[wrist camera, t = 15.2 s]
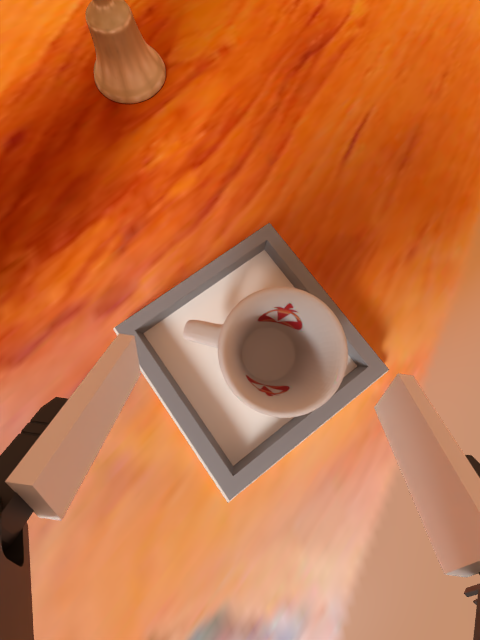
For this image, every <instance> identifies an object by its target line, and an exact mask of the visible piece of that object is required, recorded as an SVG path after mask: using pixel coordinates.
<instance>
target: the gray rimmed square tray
mask: <svg viewBox="0 0 480 640" xmlns="http://www.w3.org/2000/svg"><path fill="white" fill-rule="evenodd" d="M270 287H291V288H296V289H300V290H303V291H306V292H308V293H310V294H312V295H314V296H315V297H317V298H319V299H320V300H321V301H323V302H324V303H325V304H326V305H327V306H328V307H329V308H330V309H331V310H332V311H333V313H334V314H335V315H336V317H337V318H338V320H339V322H340V324H341V326H342V328H343V330H344V333H345V336H346V341H347V347H348V361H347V367H346V371H345V375H344V377H343V380H342V382H341V384H340V386H339V388H338V389H337V391H336V392H335V394H334V395H333V396H332V397H331V398H330V399H329V400H328V401H327V402H326V403H325V404H323V405H322V406H321V407H319V408H318V409H316V410H314V411H312V412H310V413H308V414H305V415H301V416H297V417H290V418H280V417H273V416H268V415H265V414H262V413H259V412H257V411H255V410H253V409H251V408H250V407H248V406H247V405H245V404H244V403H243V402H242V401H240V400H239V399H238V398H237V397H236V396H235V395H234V393H233V392H232V391H231V390H230V388H229V387H228V385H227V383H226V381H225V380H224V377H223V375H222V372H221V369H220V365H219V360H218V348H215V347H211V346H207V345H203V344H199V343H195V342H192V341H189V340H186V339H184V337H183V331H184V327H185V324H186V323H187V321H189V320H201V321H206V322H210V323H215V324H224V322H225V320H226V318H227V316H228V315H229V313H230V312H231V310H232V309H233V308H234V307H235V306H236V305H237V304H238V303H239V302H240V301H241V300H243V299H244V298H245V297H247V296H249V295H250V294H252V293H254V292H257V291H259V290H262V289H265V288H270ZM113 329H114V331H115V333H116V334H117V336H118V334H126V335H133V336H135V342H136V348H137V354H138V361H139V367H140V370H141V372H142V373H143V375H144V376H145V378H146V379H147V381H148V382H149V384H150V386H151V387H152V389H153V390H154V392H155V393H156V395H157V396H158V398H159V399H160V401H161V402H162V404H163V405H164V407H165V408H166V410H167V411H168V413H169V414H170V416H171V417H172V419H173V420H174V422H175V423H176V425H177V426H178V428H179V429H180V431H181V432H182V434H183V435H184V437H185V438H186V440H187V442H188V443H189V445H190V446H191V448H192V449H193V451H194V452H195V454H196V455H197V457H198V458H199V460H200V461H201V463H202V464H203V466H204V467H205V469H206V470H207V472H208V473H209V475H210V476H211V478H212V479H213V481H214V482H215V484H216V485H217V487H218V488H219V490H220V491H221V493H222V495H223V496H224V498H225V499H226V501H227V502H229V501H231V500H232V499H233V498H234V497H235V496H237V495H238V494H239V493H240V492H241V491H243V490H244V489H245V488H246V487H248V486H249V485H250V484H251V483H252V482H254V481H255V480H256V479H257V478H259V477H260V476H261V475H262V474H263V473H265V472H266V471H267V470H268V469H269V468H271V467H272V466H273V465H274V464H276V463H277V462H278V461H279V460H280V459H282V458H283V457H284V456H285V455H287V454H288V453H289V452H290V451H291V450H293V449H294V448H295V447H296V446H297V445H299V444H300V443H301V442H302V441H304V440H305V439H306V438H307V437H308V436H310V435H311V434H312V433H313V432H314V431H316V430H317V429H318V428H319V427H321V426H322V425H323V424H324V423H325V422H327V421H328V420H329V419H330V418H332V417H333V416H334V415H335V414H336V413H338V412H339V411H340V410H341V409H342V408H344V407H345V406H346V405H347V404H349V403H350V402H351V401H352V400H353V399H355V398H356V397H357V396H358V395H360V394H361V393H362V392H363V391H364V390H366V389H367V388H368V387H369V386H370V385H372V384H373V383H374V382H375V381H377V380H378V379H379V378H380V377H381V376H383V375H384V374H385V373H386V372H388V370H389V369H388V368H387V367H386V365H385V364H384V363H383V362H382V360H381V359H380V358H379V357H378V356H377V354H376V353H375V352H374V351H373V349H372V348H371V347H370V346H369V344H368V343H367V342H366V341H365V340H364V338H363V337H362V336H361V335H360V333H359V332H358V331H357V330H356V328H355V327H354V326H353V325H352V324H351V322H350V321H349V320H348V319H347V317H346V316H345V315H344V314H343V313H342V311H341V310H340V309H339V308H338V306H337V305H336V304H335V303H334V301H333V300H332V299H331V298H330V297H329V295H328V294H327V293H326V292H325V290H324V289H323V288H322V287H321V285H320V284H319V283H318V282H317V281H316V279H315V278H314V277H313V276H312V274H311V273H310V272H309V271H308V269H307V268H306V267H305V266H304V265H303V263H302V262H301V261H300V260H299V258H298V257H297V256H296V255H295V254H294V252H293V251H292V250H291V249H290V247H289V246H288V245H287V244H286V242H285V241H284V240H283V239H282V238H281V236H280V235H279V234H278V233H277V231H276V230H275V229H274V228H273V226H272V225H271V224H270V223H268V224H267V225H265V226H264V227H262V228H261V229H259V230H258V231H256V232H255V233H254V234H252V235H251V236H249V237H248V238H246V239H245V240H243V241H242V242H240V243H239V244H237V245H236V246H234V247H233V248H231V249H230V250H228V251H227V252H225V253H224V254H222V255H221V256H220V257H218V258H217V259H215V260H214V261H212V262H211V263H209V264H208V265H206V266H205V267H203V268H202V269H200V270H199V271H197V272H196V273H194V274H193V275H191V276H190V277H189V278H187V279H186V280H184V281H183V282H181V283H180V284H178V285H177V286H175V287H174V288H172V289H171V290H169V291H168V292H166V293H165V294H163V295H162V296H160V297H159V298H157V299H156V300H155V301H153V302H152V303H150V304H149V305H147V306H146V307H144V308H143V309H141V310H140V311H138V312H137V313H135V314H134V315H132V316H131V317H129V318H128V319H126V320H125V321H123V322H122V323H121V324H119V325H118V326H116V327H115V328H113Z"/></svg>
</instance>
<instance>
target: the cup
mask: <svg viewBox="0 0 480 640" xmlns="http://www.w3.org/2000/svg"><path fill="white" fill-rule="evenodd" d="M183 337H184V339H186V340H189V341H192V342H195V343H199V344H203V345H207V346H211V347H215V348H218V360H219V365H220V369H221V372H222V375H223V377H224V380H225V381H226V383H227V385H228V387H229V388H230V390H231V391H232V392H233V393H234V395H235V396H236V397H237V398H238V399H239V400H240V401H242V402H243V403H244V404H245V405H247V406H248V407H250V408H251V409H253V410H255V411H257V412H259V413H262V414H265V415H268V416H273V417H280V418H290V417H297V416H301V415H305V414H308V413H310V412H312V411H314V410H316V409H318V408H319V407H321V406H322V405H323V404H325V403H326V402H327V401H328V400H329V399H330V398H331V397H332V396H333V395H334V394H335V392H336V391H337V389H338V388H339V386H340V384H341V382H342V380H343V377H344V375H345V371H346V367H347V361H348V347H347V341H346V336H345V333H344V330H343V328H342V326H341V324H340V322H339V320H338V318H337V317H336V315H335V314H334V313H333V311H332V310H331V309H330V308H329V307H328V306H327V305H326V304H325V303H324V302H323V301H321V300H320V299H319V298H317V297H315V296H314V295H312V294H310V293H308V292H306V291H303V290H300V289H296V288H291V287H270V288H265V289H262V290H259V291H257V292H254V293H252V294H250V295H249V296H247V297H245V298H244V299H243V300H241V301H240V302H239V303H238V304H237V305H236V306H235V307H234V308H233V309H232V310H231V312H230V313H229V315H228V316H227V318H226V320H225V322H224V324H215V323H210V322H206V321H201V320H189V321H187V323H186V324H185V327H184V331H183Z"/></svg>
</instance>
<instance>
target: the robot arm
mask: <svg viewBox="0 0 480 640" xmlns="http://www.w3.org/2000/svg"><path fill="white" fill-rule="evenodd" d="M140 374H141V373H140V367H139V361H138V354H137V348H136V342H135V336H133V335H126V334H118V336H117V337H116V338H115V340H114V341H113V342H112V343H111V345H110V346H109V347H108V349H107V350H106V351H105V352H104V354H103V355H102V356H101V358H100V359H99V360H98V362H97V363H96V364H95V365H94V367H93V368H92V369H91V371H90V372H89V373H88V375H87V376H86V377H85V378H84V380H83V381H82V382H81V384H80V385H79V386H78V387H77V389H76V390H75V391H74V393H73V394H72V395H71V397H70V398H69V399H66V398H59V397H55V398H54V399H53V400H51V401H50V402H48V403H47V404H46V405H44V406H43V407H41V409H40V410H39V411H38V412H37V413H36V414H35V416H34V417H33V418H32V419H31V421H30V423H28V424H27V425H26V426H25V427H24V429H23V430H22V431H21V433H20V434H18V436H17V437H16V438H15V439H14V440H13V441H12V443H11V444H10V445H9V446H8V447H7V449H6V450H5V451H4V452H3V453H2V454H1V456H0V640H34V634H33V614H32V595H31V576H30V556H29V537H28V525H27V520H28V519H29V517H30V516H31V514H32V512H33V511H34V513H35V514H36V515H37V516H38V517H40V518H47V519H54V520H61V521H62V519H63V517H64V515H65V513H66V512H67V510H68V508H69V506H70V504H71V502H72V500H73V499H74V497H75V495H76V493H77V491H78V489H79V487H80V486H81V484H82V482H83V480H84V478H85V476H86V475H87V473H88V471H89V469H90V467H91V465H92V463H93V462H94V460H95V458H96V456H97V454H98V452H99V450H100V449H101V447H102V445H103V443H104V441H105V439H106V437H107V436H108V434H109V432H110V430H111V428H112V426H113V424H114V423H115V421H116V419H117V417H118V415H119V413H120V412H121V410H122V408H123V406H124V404H125V402H126V400H127V399H128V397H129V395H130V393H131V391H132V389H133V387H134V386H135V384H136V382H137V380H138V378H139V376H140ZM374 408H375V410H376V413H377V415H378V418H379V420H380V422H381V425H382V427H383V430H384V432H385V434H386V437H387V439H388V441H389V444H390V446H391V449H392V451H393V453H394V456H395V458H396V460H397V463H398V465H399V468H400V470H401V472H402V475H403V477H404V479H405V482H406V484H407V487H408V489H409V491H410V494H411V496H412V498H413V501H414V503H415V506H416V508H417V510H418V513H419V515H420V518H421V520H422V522H423V524H424V527H425V529H426V532H427V534H428V537H429V539H430V541H431V544H432V546H433V549H434V551H435V553H436V556H437V558H438V560H439V563H440V565H441V568H442V570H443V572H444V574H447V575H453V576H461V577H468V576H472V575H475V574H478V573H479V574H480V463H479V462H478V461H477V460H476V459H474V457H473V456H471V455H464V453H463V452H462V450H461V449H460V447H459V445H458V444H457V442H456V441H455V439H454V438H453V436H452V435H451V433H450V432H449V430H448V428H447V427H446V425H445V424H444V422H443V421H442V419H441V418H440V416H439V414H438V413H437V412H436V410H435V408H434V407H433V405H432V404H431V402H430V401H429V399H428V397H427V396H426V394H425V393H424V391H423V390H422V388H421V387H420V385H419V384H418V382H417V381H416V379H415V377H414V376H412V375H405V374H397V376H396V377H395V379H394V380H393V381H392V383H391V384H390V386H389V387H388V389H387V390H386V391H385V393H384V394H383V396H382V397H381V399H380V400H379V401H378V403H377V404H376V406H375V407H374ZM464 594H465V595H466V596H467V597H469V596H473V595H477V594H478V599H476V600H474V601H473V602H474V603H475V604H476V605H477V609H476V619H475V630H474V639H473V640H480V584H477V585H474V586H471V587H468V588H466V590H465V592H464Z"/></svg>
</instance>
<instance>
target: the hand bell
mask: <svg viewBox="0 0 480 640" xmlns="http://www.w3.org/2000/svg"><path fill="white" fill-rule="evenodd" d="M86 21H87V24H88V27H89V30H90V33H91V36H92V39H93V42H94V46H95V51H96V62H95V65H94V79H95V83H96V86H97V87H98V89H99V91H100V92H101V93H102V94H103V95H104V96H106V97H107V98H108V99H110V100H112V101H115V102H118V103H125V104H132V103H139V102H142V101H145V100H147V99H149V98H151V97H152V96H154V95H155V94H156V93H157V92H158V91H159V90H160V89H161V87H162V85H163V84H164V81H165V77H166V68H165V64H164V62H163V60H162V58H161V57H160V55H159V54H158V53H157V52H156V51H155V50H154V49H153V48H152V47H151V46H149V45H148V44H147V43H146V42H145V40H144V39H143V37H142V35H141V33H140V31H139V29H138V27H137V24H136V22H135V19H134V17H133V14H132V12H131V9H130V7H129V6H128V4H127V3H126V2H125V1H124V0H93V1H92V2H90V4H89V5H88V7H87V9H86Z"/></svg>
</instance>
